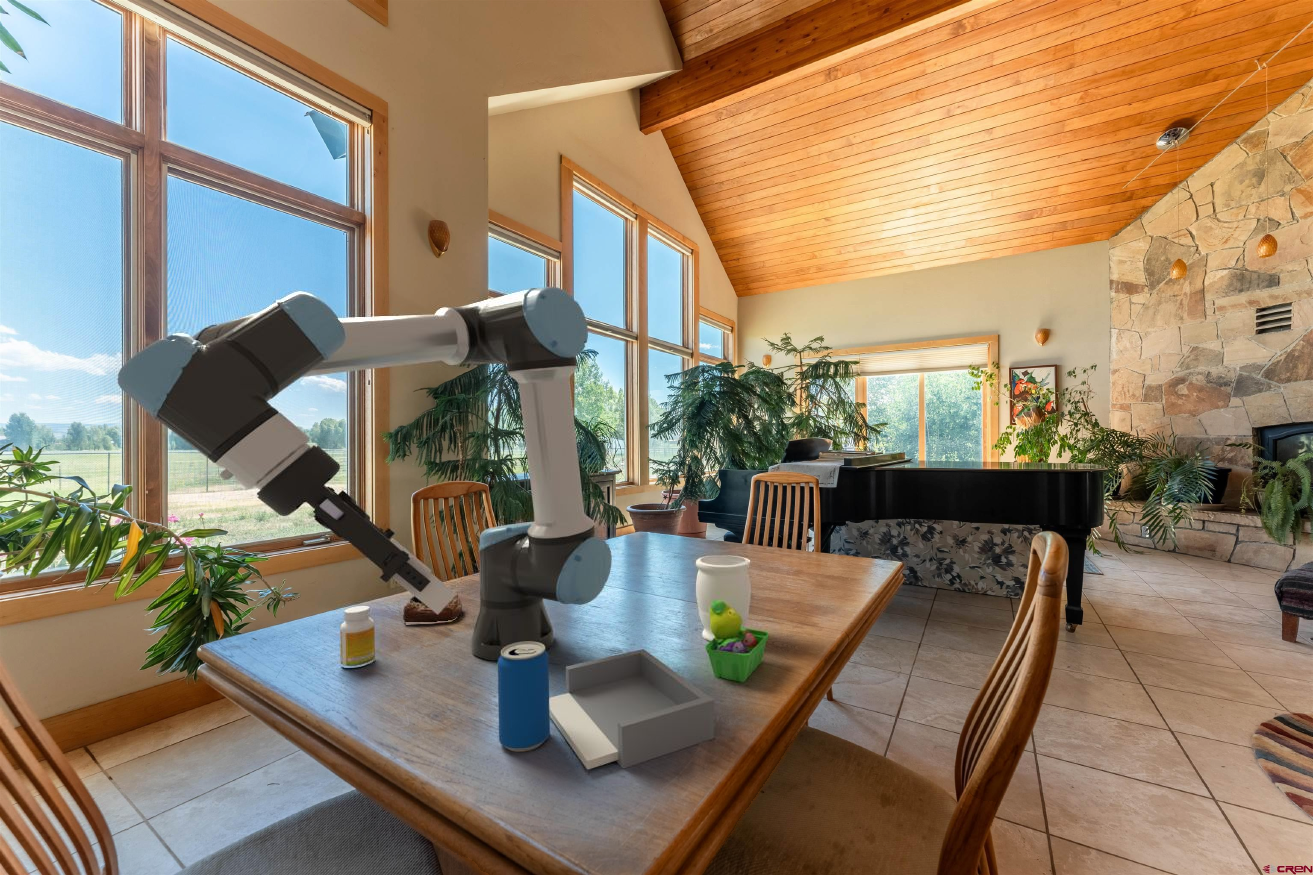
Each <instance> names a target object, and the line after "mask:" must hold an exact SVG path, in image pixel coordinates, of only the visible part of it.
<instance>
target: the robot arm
mask: <svg viewBox="0 0 1313 875" xmlns="http://www.w3.org/2000/svg"><path fill="white" fill-rule="evenodd" d="M588 338H589V328H588V322H587V320H586V316H585V313H584V312H583V309H582V307H581V306H580V304H579V302H578V301H576V300H575V298H574V296H572V295H571V294H570V293H569V292H568V291H566V290H565V289H563V288H559V287H557V286H545V287H544V286H543V287H532V288H530V289H526V290H521V291H518V292H514V293H510V294H505V295H501V296H496V297H492V298H488V299H485V300H482V301H478V302H474V303H471V304H470V303H469V304H466V305H463V306H458V307H455V306H454V307H442V308H440V309H438V310H437V311H436V312H435V313H434V314H421V315H419V314H417V315H416V314H415V315H413V314H412V315H398V316H396V315H393V316H392V315H391V316H371V317H366V316H364V317H345V318H343V317H342V318H339V317H338V316H337V314H336V313H335V312H334V310H333V309H332V308H331V307H330V306H329V305H328V304H326V303H325V302H324V301H323V300H322V299H320V298H319V297H317V296H315V295H314V294H312V293H309V292H305V291H295V292H293V293H291V294H288V295H287V296H285V297H283V298H281V299H276V300H275V301H274V303H272V304H271V305H269V306H268V307H266V308H263V310H260V311H258V312H255V313H252V314H248V315H246V316H245V315H244V316H242V317H239V318H235V319H233V320H229V321H227V322H222V323H219V324H218V323H217V324H210V325H209V326H207V327H203V328H202V329H201V330H200V331H199V332H197V333H195V334H194V335H193V336H190V335H189V334H186V333H173V334H170V335H168V336H167V337H164V338H160V339H158V340H157V341H155V342H153V343H151V344H150V345H147V346H146V347H144V348H143V349H141V350H140V351H138V352H137V353H136V354H134V356H132V357H131V358H129V359H128V360H127V361H126V362H125V363H124V364H123V366H121V368H120V369H119V372H118V373H117V384H118V386H119V388H120V389H121V390H122V391H123V392H124V393H125V394H127V396H129V397H130V398H131V399H132V400H133V401H134V402H136V403H137V404H138V405H139V407H141V408H143V410H145V412H146V413H148V414H149V415H150V416H151V418H152V419H153V420H155V421H156V420H157V421H158V422H160V423H161V424H162V425H164V426H165V427H167V428H168V429H169V430H170V431H172V432H173V433H174V434H175V435H177V436H178V437H179V438H180V439H182V440H183V441H185V442H186V443H187V444H189V445H191V447H193V449H196V450H197V451H198V452H199V453H201V454H202V455H203V456H204V457H206V458H208V460H210V461H211V462H212V463H214V464H215V465H216V466H217V467H219V468H223V469H224V470H222V471H221V472H220V474H219V476H220V478H221V480H223V481H229V480H231V478H234V479H235V481H236V482H238V483H239V484H240V485H241V486H243V487H244V488H245V489H247V490H252V489H253V488H257V489H258V490H259V491H258V492H256V495H257V499H259V500H260V501H261V502H262V503H264V504H265V505H266V506H268V507H269V508H270V509H272V510H273V511H274V512H275V513H276V514H278V515H279V516H280V517H287V516H290V515H291V514H293V513H294V512H295V511H297V510H298V509H299V508H300V507H302V505H304V504H305V503H307V504H308V505H309V506H310V508H312V509H314V510H313V511H312V512H313V513H314V515H313V517H314V521H315V522H316V523H317V524H319V525H321V526H322V527H324V529H327V530H330V531H331V532H332V533H333V534H334V535H335V536H337V537H338V539H341V540H342V541H344V542H349V544H351V545H352V546H353V547H355V548H356V549H357V550H358V551H359V552H360V553H361V554H362V555H364V557H366V558H368V560H370V562H372V563H373V564H374V565H375V566H377V567H378V568H379V569H380V570H382V571H381V572H382V574H381V576H379V578H380V580H382V581H383V582H384V583H388V582H390V580H391V579H393V581H395V582H397V583H398V584H399V586H402V587H403V588H404V589H405V590H406V591H407V592H408V593H410V594H412V596H413V597H414V596H415V597H416V598H418V599H419V600H420V601H421V602H423V603H424V604H425V605H426V606H428V607H429V608H430V609H431V610H433V611H434V612H435V613H436V614H439V613H440V612H441V611H442V609H443V608H444V607H445V606H446V605H447V604H448V603H449V602H450V601H451V600H452V598H453V597H454V596H455V595H457V593H456V592H454V591H453V590H452V589H451V588H450V587H449V586H447V585H446V584H445V583H444V582H443V581H441V579H439V578H438V577H437V576H436V575H435V574H433V573H432V570H431V569H430V568H429V567H428V566H426V564H424V563H423V562H422V561H421V560H420V559H418V558H417V557H416V556H415V555H414V554H413V553H411V552H410V551H409V550H408V549H407V548H405V547H404V546H403V545H402V544H400V543H399V542H398V541H397V540H396V539H395V538H393V536H394V535H395V534H396V533H395V532H394V531H393V530H392V529H391V528H389V527H388V528H387V529H385V531H384V529H383V528H381V527H378V526H377V525H376V524H375V523H373V521H371V517H370V515H368V514H369V513H367V512H366V511H365V510H364V509H363V508H361V507H360V506H359V505H358V504H357V501H356V500H355V499H354V498H353V497H351V495H350V494H348V493H347V492H346V491H344V490H343V489H342V490H340V491H339V493H337V492H336V490H335V489H334V488H333V487H330V486H327V485H326V484H327V483H329V482H330V481H331V480H332V479H333V478H334V477H335V476H336V475H337V473H339V472H340V469H341V465H340V463H339V462H338V461H336V459H334V458H333V457H332V456H331V455H330V454H329V453H327V452H326V451H325V450H324V449H322V448H321V447H320V446H319V445H317V446H316V445H315V444H314V445H312V446H310V445H309V444H308V443H309V441H310V437H309V436H308V435H307V434H306V433H304V432H303V430H301V429H300V428H299V427H298V426H296V425H295V423H293V422H292V421H291V420H289V418H287V417H286V416H285V415H284V414H282V412H279V410H277V409H276V408H275V407H273V406H272V405H271V404H270V403H269V401H270V400H271V399H273V398H275V397H276V396H277V395H279V393H281V392H283V391H284V390H285V389H287V388H288V387H289V386H291V385H293V383H295V382H296V381H297V380H299V379H300V378H305V377H314V376H320V375H329V374H338V373H347V372H354V371H355V372H356V371H364V370H372V369H381V368H389V367H398V366H399V367H400V366H406V365H415V364H422V363H431V362H440V361H442V362H443V363H445V364H447V365H448V366H449V365H450V366H458V365H466V364H469V365H471V364H472V365H473V364H477V365H478V364H481V365H482V364H483V365H488V364H489V365H506V369H507V370H506V371H507V374H508V376H510V377H511V378H513V379H514V381H516V382H517V384H518V389H519V390H518V391H519V397H520V398H519V400H520V407H521V415H522V422H523V423H522V424H523V430H524V441H525V448H526V450H525V451H526V458H527V464H528V473H529V480H530V482H529V483H530V488H531V489H530V492H531V497H532V498H531V499H532V506H533V514H534V521H529V522H528V521H527V522H526V521H525V522H520V523H519V522H518V523H513V524H512V523H510V524H505V525H500V526H493V527H489V528H486V529H485V530H483V531H482V532H481V533H480V535H479V544H478V545H479V546H478V547H479V548H478V551H477V552H478V566H479V568H478V569H479V570H478V571H479V593H480V595H479V598H480V609H479V612H478V615H477V618H476V622H475V625H474V628H473V631H472V635H471V640H470V642H471V650H472V651H471V650H470V651H471V653H472V652H473V653H472V654H473V655H474V654H475V655H476V656H475V655H474V656H475V657H477V656H478V657H477V658H479V657H481V658H480V659H482V658H484V659H483V660H486V661H487V660H488V661H497V662H498V659H499V658H500V656H501V650H502V649H503V648H504V647H506V646H508V645H510V644H514V643H518V642H527V641H531V642H539V643H541V644H543V645H544V646H545V651H547V650H549V648H551V646H553V644H554V630H553V626H552V623H551V620H550V617H549V614H548V611H547V609H546V605H545V603H544V602H545V601H544V600H548V601H553V602H557V603H558V602H559V603H561V604H562V605H571V604H572V605H578V606H581V605H583V606H584V605H587V604H588V603H591V602H592V601H594V600H595V599H596V598H597V597H598V596H599V595H600V594H601V593H602V591H603V590H604V588H605V587H606V584H607V581H608V580H609V578H610V574H611V570H612V563H613V562H612V551H611V548H610V546H609V544H608V543H607V542H606V540H604V539H602V538H601V537H599V536H596V528H595V522H594V520H593V519H592V518H590V517H589V516H588V515H587V514H586V512H585V510H584V509H585V508H584V499H583V491H582V481H581V480H582V479H581V471H580V462H579V452H578V445H577V435H576V434H577V433H576V428H575V418H574V417H575V416H574V409H573V408H574V407H573V399H572V391H571V389H572V388H571V380H570V379H571V376H572V375H573V374H574V372H575V371H576V370H577V369H578V363H577V361H578V360H577V356H579V355H580V354H581V353H582V352H583V351H584V350H585V347H586V343H587V342H588Z"/></svg>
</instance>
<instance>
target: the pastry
mask: <svg viewBox="0 0 1313 875" xmlns="http://www.w3.org/2000/svg"><path fill="white" fill-rule="evenodd" d="M462 611H463V603H462V601H461V599H460V598H459V595H458V594H456V595H455V596H454V597H453V598H452V600H451V601H450V602H449V603H448V604H447V605H446V606H445V607H444V608H443V609H442V611H441V612H440V613H439V614H436V613H435V612H434V611H433V610H431V609H430V608H429V607H428V606H426V605H425V604H424V603H423V602H421V601H420V600H419V599H418V598H416V597H415V596H414V595H413V596H412V597H410V599H409V602H407V603H406V604H405V606H404V607H403V615H402V618H403V621H405V622H437V621H448V620H453V619H455V618H456V617H458V616H459V615H461V614H462ZM459 617H460V616H459ZM459 617H458V618H459Z"/></svg>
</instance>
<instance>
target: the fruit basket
mask: <svg viewBox="0 0 1313 875" xmlns="http://www.w3.org/2000/svg"><path fill="white" fill-rule="evenodd" d="M709 613H710V628H711V631H712V633H713V635H714V636H715V638H714V639H713V640H712V641H709V642H708V643H707V644H706V645H705V650H706V653H707V655H708V658H709V661H710V664H711V668H712V669H711V670H712V672H713V675H714V677H716V678H722V679H727V680H729V681H730V680H731V681H738V682H740V683H745V682H746V680H747V679H748V677H750V676H751V675H752V673H753V672H754V671H755V670H756V669H757V668H758V666H759V665H760V664H761V663H762V660H763V656H764V653H765V649H766V648H765V647H766V644H767V641H768V639H769V636H770V633H769V632H768V631H764V630H759V629H753V628H746V627H744V628H742V627H741V624H742V618H741V616H740V615H739V614H738V613H737V612H736V611H735V610H733V609H732V608H731V607H730V606H729V605H727V604H726V603H725V602H723V601H721V600H719V601H713V603H712V605H711V608H710V611H709Z"/></svg>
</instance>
